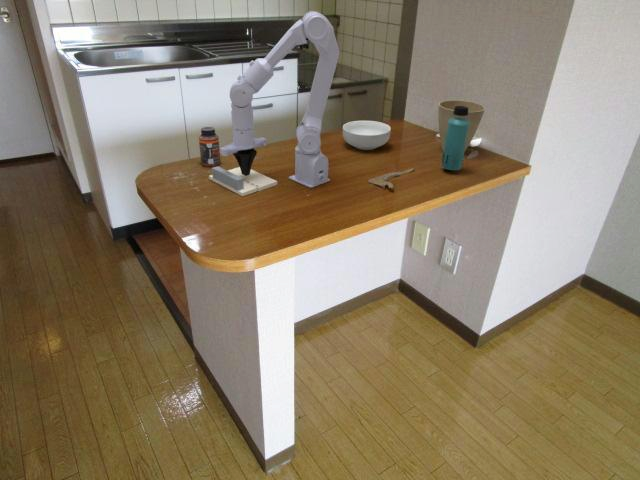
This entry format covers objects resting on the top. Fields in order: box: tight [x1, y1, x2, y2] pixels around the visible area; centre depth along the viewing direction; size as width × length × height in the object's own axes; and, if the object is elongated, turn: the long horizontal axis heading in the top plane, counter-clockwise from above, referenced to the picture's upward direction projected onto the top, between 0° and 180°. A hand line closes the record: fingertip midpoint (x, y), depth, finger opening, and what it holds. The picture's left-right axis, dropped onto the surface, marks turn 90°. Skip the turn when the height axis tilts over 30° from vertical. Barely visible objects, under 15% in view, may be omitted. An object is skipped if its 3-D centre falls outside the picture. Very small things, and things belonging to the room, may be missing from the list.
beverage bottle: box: [440, 106, 470, 171], centre depth 138 cm, size 6×7×20 cm
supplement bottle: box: [198, 126, 221, 168], centre depth 140 cm, size 6×6×11 cm
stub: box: [208, 165, 258, 197], centre depth 128 cm, size 16×5×4 cm, turn 45°
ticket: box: [227, 166, 278, 192], centre depth 133 cm, size 16×7×1 cm, turn 45°
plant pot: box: [437, 99, 486, 153], centre depth 155 cm, size 15×15×16 cm
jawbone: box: [367, 167, 415, 190], centre depth 137 cm, size 9×20×2 cm, turn 152°
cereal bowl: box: [342, 120, 392, 151], centre depth 159 cm, size 17×17×7 cm
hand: (245, 174), depth 131 cm, fingers closed
